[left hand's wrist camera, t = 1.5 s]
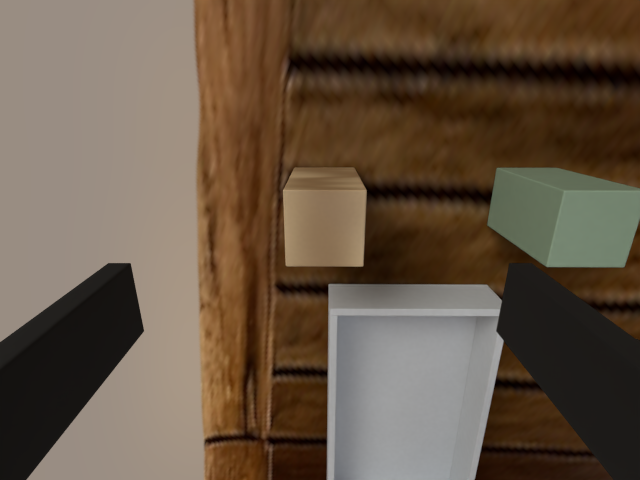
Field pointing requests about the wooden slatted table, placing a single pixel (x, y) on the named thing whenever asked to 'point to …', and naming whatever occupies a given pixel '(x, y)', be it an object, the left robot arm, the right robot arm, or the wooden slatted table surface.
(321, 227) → the birch block
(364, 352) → the tray
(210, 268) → the wooden slatted table surface
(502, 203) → the sage block
